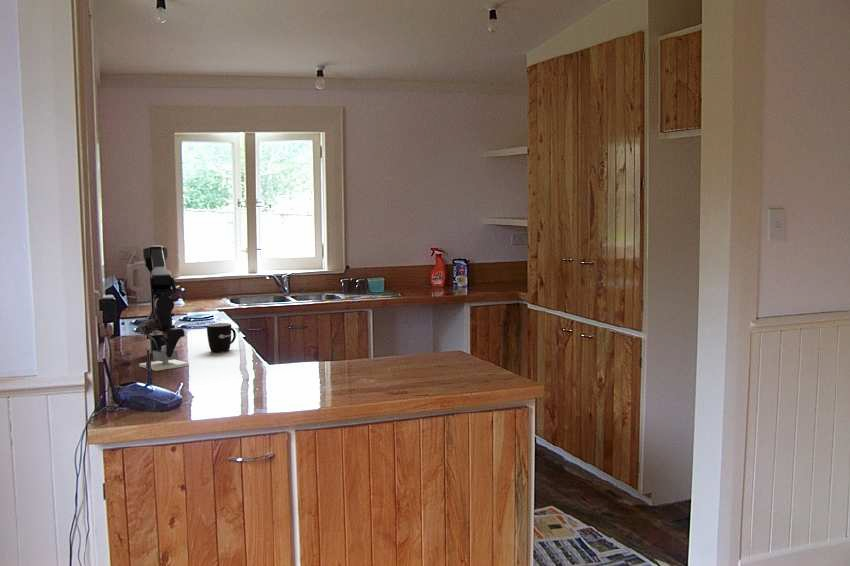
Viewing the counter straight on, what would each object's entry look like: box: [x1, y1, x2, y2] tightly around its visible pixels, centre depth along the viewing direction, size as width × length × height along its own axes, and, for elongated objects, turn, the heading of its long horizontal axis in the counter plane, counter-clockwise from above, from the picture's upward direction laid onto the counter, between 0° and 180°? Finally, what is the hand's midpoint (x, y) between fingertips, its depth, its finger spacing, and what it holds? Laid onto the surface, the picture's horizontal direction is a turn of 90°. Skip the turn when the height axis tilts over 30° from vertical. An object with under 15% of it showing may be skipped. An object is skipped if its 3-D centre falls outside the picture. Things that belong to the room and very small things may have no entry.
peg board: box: [139, 346, 190, 372], centre depth 279 cm, size 12×12×7 cm
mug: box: [206, 322, 237, 354], centre depth 309 cm, size 12×9×10 cm
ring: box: [152, 349, 179, 361], centre depth 279 cm, size 6×6×3 cm
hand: (165, 356), depth 279 cm, fingers closed on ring, 6 cm apart
